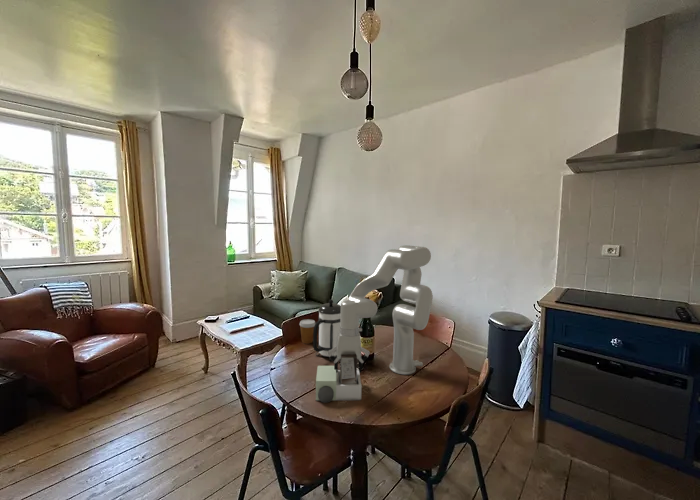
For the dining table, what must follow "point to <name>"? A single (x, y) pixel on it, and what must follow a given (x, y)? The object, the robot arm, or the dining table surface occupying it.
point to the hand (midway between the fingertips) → (348, 371)
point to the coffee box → (348, 369)
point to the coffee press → (327, 328)
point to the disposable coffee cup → (307, 330)
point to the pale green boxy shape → (335, 386)
